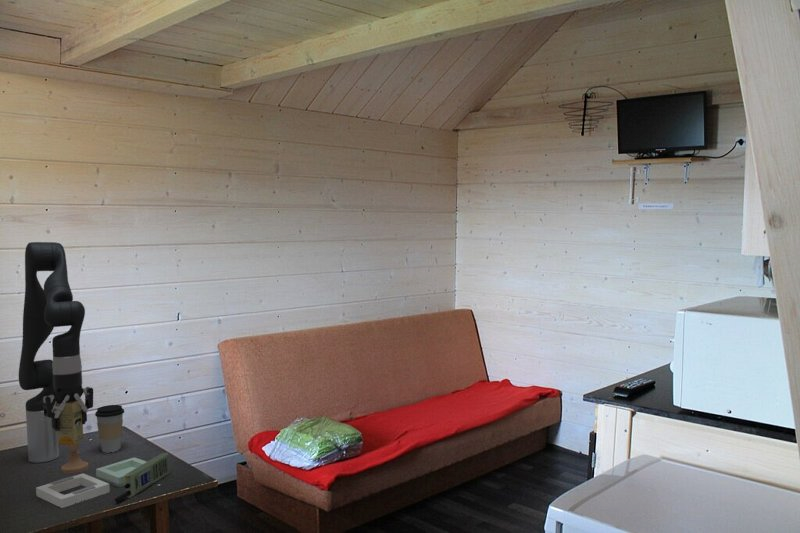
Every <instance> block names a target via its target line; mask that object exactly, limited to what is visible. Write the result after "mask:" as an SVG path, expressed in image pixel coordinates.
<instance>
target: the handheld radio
mask: <svg viewBox="0 0 800 533" xmlns="http://www.w3.org/2000/svg"><path fill="white" fill-rule="evenodd" d="M169 458H170V457H169V452H162V453H160V454H158V455H156V456H155V457H153V458H151V459H150V460H148V461H146V463H144V464H142V465H141V466H139V467H137V468H136V469H134V470H132V471H130V472H129V473H127V474H125V475H124V476H125V481H126V485H125V486H124V488H125V490H126V491H125V492H123V493H122V494H120V495H119V496H117V497H116V498H114V501H115V503H120V501H122V500H124V499H125V498H127V499H130V498H133V497H135V495H138V494H139V493H141V492H142V491H144V490H145V489H147V488H148V487H150V486H151V485H153V484H154V483H157V482H158V481H159V480H161V479H163V478H164V477H166V476H167V475H169V474H170V463H169V462H170V459H169Z"/></svg>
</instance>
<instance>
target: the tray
mask: <svg viewBox="0 0 800 533" xmlns="http://www.w3.org/2000/svg"><path fill="white" fill-rule="evenodd" d="M146 462H147V461H146V460H143V459H140V458H138V457H131V458H128V459H127V458H126V459H124V460H120V461H118V462H115V463H111V464H108V465H105V466H102V467H98V468H95V478H96V479H99V480H101V481H103V482H106V483H108V484H109V485H111V486H114V487H117V488H122V487H125V485H126V481H125V476H124V475H125V474H127V473H129V472H130V471H132V470H134V469H136V468H137V467H139V466H141V465H142V464H144V463H146Z"/></svg>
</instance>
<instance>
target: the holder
mask: <svg viewBox="0 0 800 533" xmlns="http://www.w3.org/2000/svg"><path fill="white" fill-rule="evenodd" d="M81 486H82V488H80V489H78V490H74V491H71V492H70V493H66V494H63V493H61V492H63V491H68V490H70V489H73V488H77V487H81ZM110 489H111V488H110V484H108V483H106V482H104V481H101V480H99V479H96V477H93V476H91V475H88V474H86V473H80V474H76V475H73V476H68V477H64V478H60V479H58V480H55V481H51V482H50V483H47V484H43V485H40V486H37V487H35V492H36V494H35V495H36V497H38V498H40V499H42V500H43V501H46V502H49V503H50V504H53V505H54V506H56V507H58V508H61V509H64V508H67V507H69V506H72V505H76V504H80V503H82V502H84V500H85V501H88V500H91V499H93V498H97V497H101V496H103V495H105V494H108V493H110V492H111V491H110ZM81 501H82V502H81ZM75 503H76V504H75Z"/></svg>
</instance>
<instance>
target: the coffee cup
mask: <svg viewBox="0 0 800 533" xmlns="http://www.w3.org/2000/svg"><path fill="white" fill-rule="evenodd" d="M96 410H97V411H96V412H95V414H94V415H95V417H96V421H97V422H96V425H97V431H98V438H99V441H100V447H101V451H102V453H104V452H105V454H109V453H110V452H112V453H115V451H116V452H118V450H119V449H120V450H121V446H122V445H121V444H122V435H123V424H124V423H123V422H124V420H123V414H124V413H125V409H124V408H123V406H122V405H121V404H108V405H103V406H100V407H98V408H97V409H96ZM120 450H119V451H120ZM110 454H111V453H110Z"/></svg>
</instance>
